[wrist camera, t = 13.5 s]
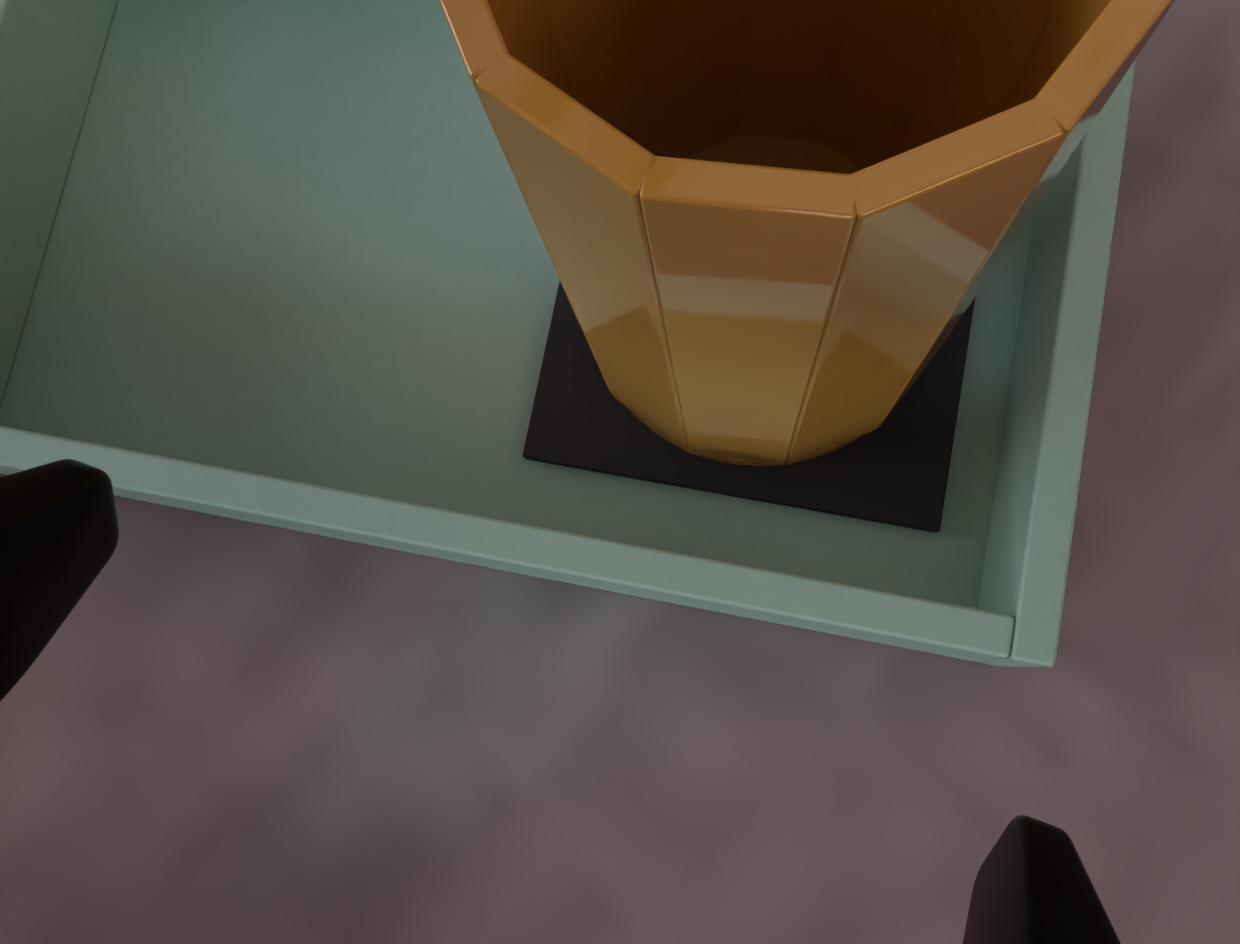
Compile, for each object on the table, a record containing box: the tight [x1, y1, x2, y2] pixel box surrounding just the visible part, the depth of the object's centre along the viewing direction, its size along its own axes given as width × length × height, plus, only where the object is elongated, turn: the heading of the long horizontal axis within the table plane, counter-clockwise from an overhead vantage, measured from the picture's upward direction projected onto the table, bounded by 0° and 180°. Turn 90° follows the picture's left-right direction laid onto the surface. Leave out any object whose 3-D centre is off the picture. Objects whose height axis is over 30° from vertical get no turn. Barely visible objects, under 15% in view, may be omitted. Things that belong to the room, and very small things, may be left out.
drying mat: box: [523, 281, 976, 533], centre depth 21 cm, size 8×8×1 cm
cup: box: [439, 0, 1175, 466], centre depth 15 cm, size 7×7×12 cm
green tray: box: [0, 0, 1136, 667], centre depth 21 cm, size 21×12×4 cm, turn 79°
